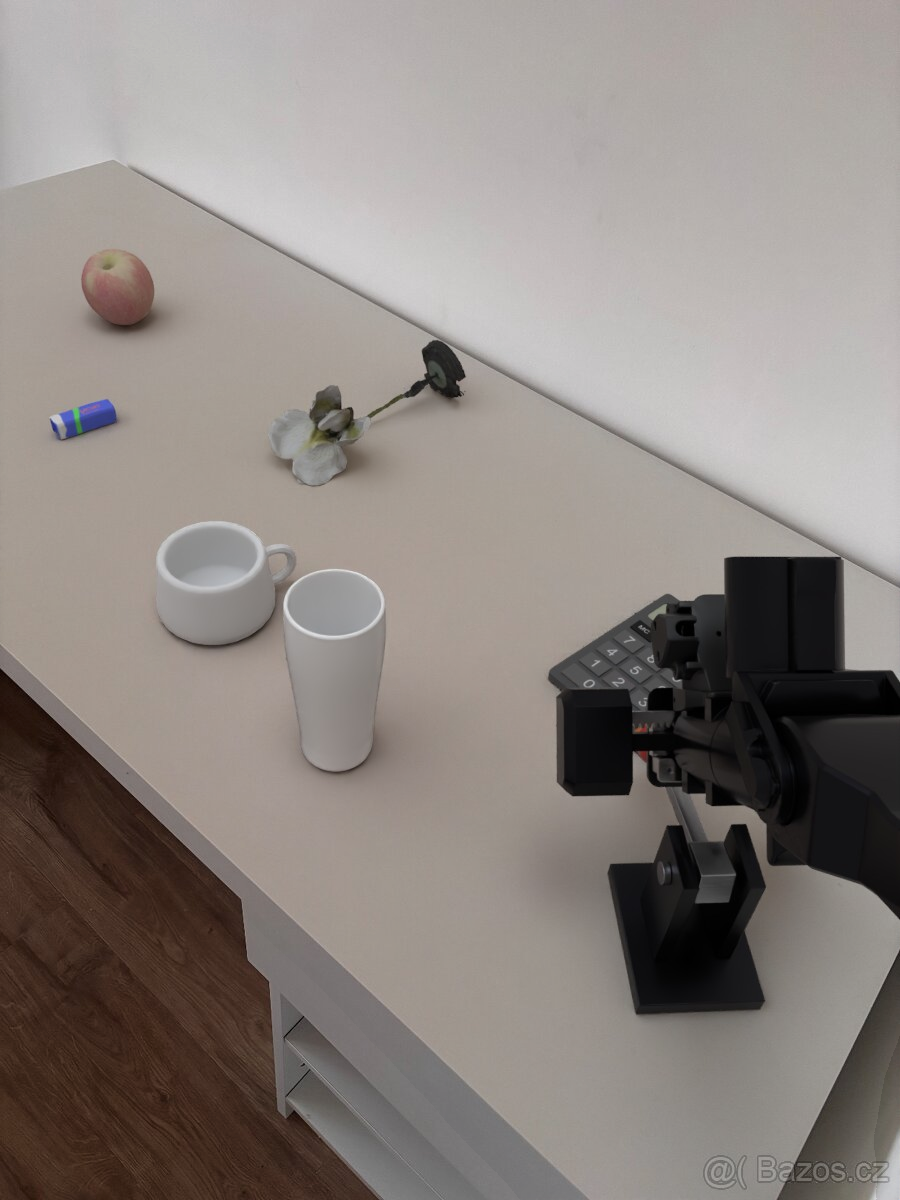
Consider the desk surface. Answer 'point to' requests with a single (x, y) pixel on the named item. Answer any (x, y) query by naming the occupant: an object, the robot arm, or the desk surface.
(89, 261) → the apple
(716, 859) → the lever
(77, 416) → the eraser
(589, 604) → the desk surface
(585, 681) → the calculator
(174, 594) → the mug
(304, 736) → the drinking glass
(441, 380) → the artificial flower
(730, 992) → the switch bracket
